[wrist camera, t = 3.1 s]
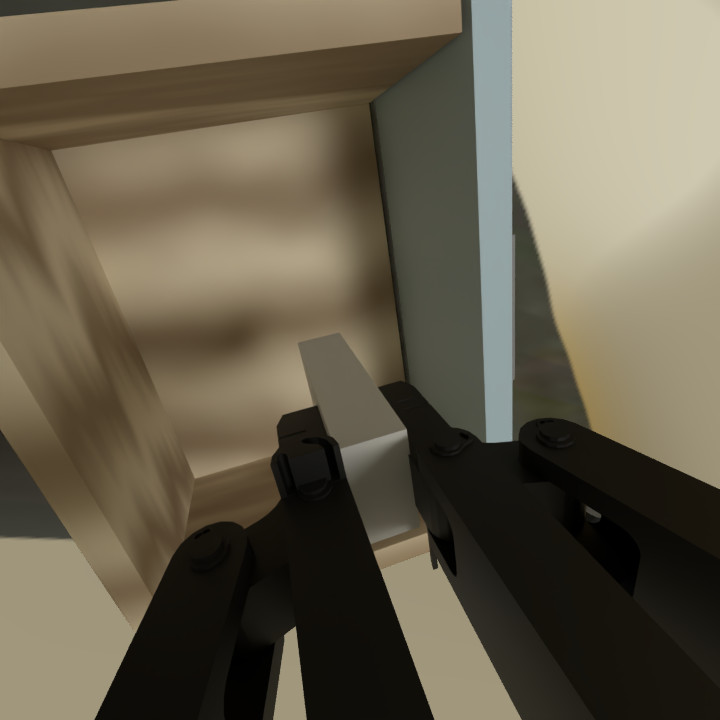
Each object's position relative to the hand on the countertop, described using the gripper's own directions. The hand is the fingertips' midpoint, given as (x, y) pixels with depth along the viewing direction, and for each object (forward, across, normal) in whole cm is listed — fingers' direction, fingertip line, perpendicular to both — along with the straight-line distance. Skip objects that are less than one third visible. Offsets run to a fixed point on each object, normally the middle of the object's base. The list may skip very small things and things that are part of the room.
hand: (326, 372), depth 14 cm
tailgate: (+8, +6, 0) cm, 10 cm away
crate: (+10, -2, 0) cm, 10 cm away
